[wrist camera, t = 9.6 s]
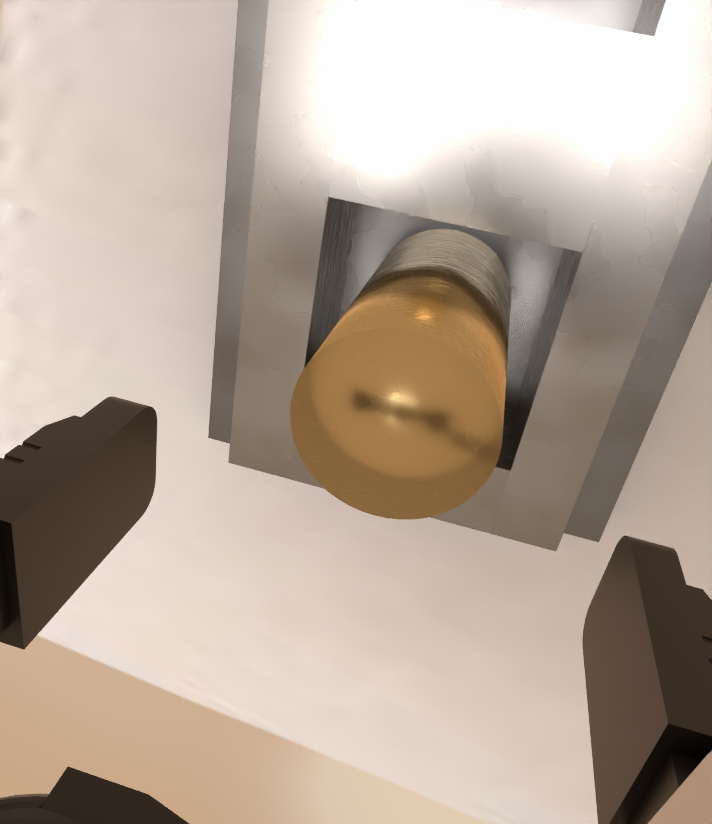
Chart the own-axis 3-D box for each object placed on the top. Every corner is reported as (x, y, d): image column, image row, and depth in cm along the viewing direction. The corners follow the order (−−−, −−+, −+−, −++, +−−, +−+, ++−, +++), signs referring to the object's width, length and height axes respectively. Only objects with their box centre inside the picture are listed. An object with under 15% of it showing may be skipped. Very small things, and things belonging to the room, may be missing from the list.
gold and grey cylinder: (528, 245, 20) (530, 359, 13) (491, 375, 23) (471, 541, 15) (387, 214, 21) (304, 305, 13) (363, 344, 23) (279, 489, 15)
